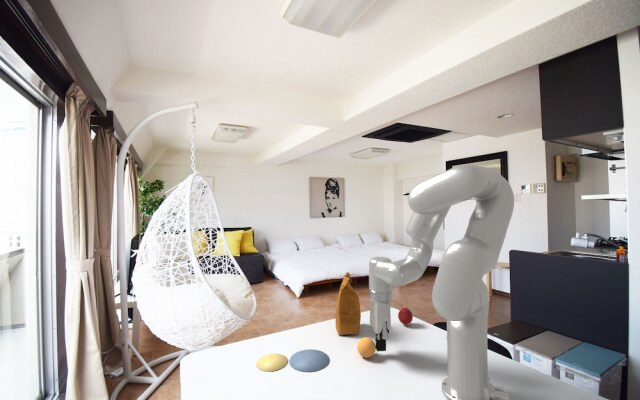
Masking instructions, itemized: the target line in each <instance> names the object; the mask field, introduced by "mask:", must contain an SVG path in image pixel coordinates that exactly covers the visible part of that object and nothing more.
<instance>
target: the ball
mask: <svg viewBox="0 0 640 400" xmlns="http://www.w3.org/2000/svg"><path fill="white" fill-rule="evenodd" d="M357 352H358V354H359V355H360V356H361V357H363V358H366V359H368V358H371V357H373V356H374V355H375V353H376V352H377V350H376V345H375V341H374V340H373V339H372V338H370V337H362V338H360V339H359V341H358V342H357Z"/></svg>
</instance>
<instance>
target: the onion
mask: <svg viewBox="0 0 640 400" xmlns="http://www.w3.org/2000/svg"><path fill="white" fill-rule="evenodd" d="M397 318H398V320H399V322H400V323H401V324H402V325H404V326H408V325H410V324H411V323H412V321H413V318H414V317H413V313H412V311H411V310H410V309H409V308H407V306H406V305H404V306H403V308H401V309H399V311H398V314H397Z"/></svg>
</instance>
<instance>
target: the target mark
mask: <svg viewBox="0 0 640 400" xmlns="http://www.w3.org/2000/svg"><path fill="white" fill-rule="evenodd" d="M288 362H289V366H291V367H292V368H293V369H294V370H295V371H298V372H303V373H314V372H318V371H321V370H323V369H325V368H326V367H327V366H328V365H330V364H329V363H330V356H329V354H327V353H326V352H324V351H322V350H319V349H310V348H309V349H302V350H299V351H296V352H294V354H292V355H291V356H290V358H289V360H288Z"/></svg>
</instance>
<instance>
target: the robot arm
mask: <svg viewBox="0 0 640 400" xmlns="http://www.w3.org/2000/svg"><path fill="white" fill-rule="evenodd" d="M407 199H408V200H407V203H408V206H409V208H410V210H411V211H413V212H412V214H411V216H410V218H409V220H408V223H407V224H406V228H405V232H406V233H407V235H408V236H409V237H411V245H410V248H409V250H408V252H407V254H406V256H405V258H403V259H399V260H394V261H392V259H390V258H389V257H387V256H373V257H371V258H370V259H369V261H368V262H369V263H368V288H369V289H368V296H369V298H368V300H369V301H370V304H369V307H370V308H369V323H370V326H371V328H372V330H373V332H374V333H375V337H374V338H375V340H374V343H375V346H376V352H386V351H387V339H388V334H390V333H391V331H392V329H391V328H392V324H391V323H392V322H391V321H392V319H391V303H392V301H393V287H395V288H400V287H402V286H407V285H408V284H411V283H414V282H416V281H417V280H419V279H420V278H421V277H422V276H423V275H424V273H425V271H426V269H427V268H428V265H429V263H430V261H431V259H432V256H433V252H434V241H435V239H436V237H437V235H438V233H439V230H440V228H441V226H442V225H443V222H444V220H445V219H446V217H447V215H448V213H449V211H450V210H451V207H452V206H454V205H457V204H460V203H462V202H466V201H468V200H469V201H472V200H474V201H475V206H474V210H473V211H472V213H471V215H470V218H469V219H468V220H469V221H468V225H467V227H466V229H465V234H464V236H463V238H460V239H458V240H456V241H453V242H452V243H450V244H449V246H448V247H446V248H445V251H444V253H443V255H442V258H441V260H440V263H439V266H438V271H437V273H436V277H435V280H434V283H433V287H432V292H431V301H432V305H433V308H434V310H435V312H436V313H437V314H438V315H439V316H440V317H441V318H443V319H444V320H445V321H446V351H447V352H446V353H447V354H446V356H447V359H446V361H447V364H446V365H447V377H445V379H443V380H442V382H441V392H442V393H443V395H444V396H445V398H446V399H448V400H497V399H498V400H510V393H509V392H505V391H504V387H501V386H498V385H494V384H493V383H490V381H491V380H490V379H491V378H490V377H489V371H488V370H489V368H488V367H489V366H488V365H489V364H488V361H489V359H488V355H489V354H488V318H489V309H490V308H489V306H490V292H489V289H488V287H487V285H486V283H485V282H484V281H483V277H484V276H485V275H487V274H489V273H490V272H492V271H493V270H494V269H495V268H496V266H497V264H498V261H499V259H500V258H499V257H500V254H501V251H502V248H503V244H504V241H505V239H506V236H507V232H508V229H509V225H510V222H511V220H512V217H513V213H514V209H515V208H514V207H515V195H514V192H513V189H512V186H511V184H510V183H509V182H508V180H507V179H506V178H505V177H503V175H501V174H500V173H498V172H497V171H495V170H493V169H492V168H489V167H486V166H481V165H474V164H461V165H458V166H454V167H452V168H449V169H447V170H445V171H443V172H441V173H438V174H437V175H434V176H433V177H431V178H428V179H426V180H423V181H422V182H420V183H418V184H416V185H415V186H414V187H412V189H411V190H410V191H409V193H408V197H407Z"/></svg>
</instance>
